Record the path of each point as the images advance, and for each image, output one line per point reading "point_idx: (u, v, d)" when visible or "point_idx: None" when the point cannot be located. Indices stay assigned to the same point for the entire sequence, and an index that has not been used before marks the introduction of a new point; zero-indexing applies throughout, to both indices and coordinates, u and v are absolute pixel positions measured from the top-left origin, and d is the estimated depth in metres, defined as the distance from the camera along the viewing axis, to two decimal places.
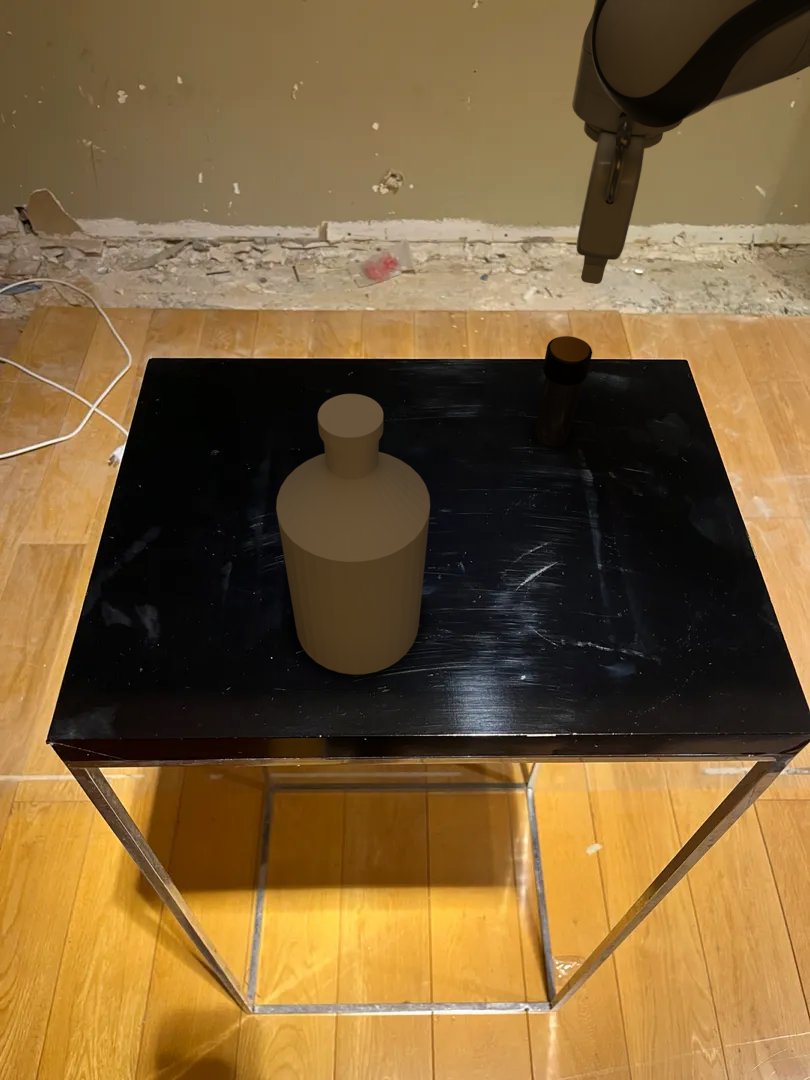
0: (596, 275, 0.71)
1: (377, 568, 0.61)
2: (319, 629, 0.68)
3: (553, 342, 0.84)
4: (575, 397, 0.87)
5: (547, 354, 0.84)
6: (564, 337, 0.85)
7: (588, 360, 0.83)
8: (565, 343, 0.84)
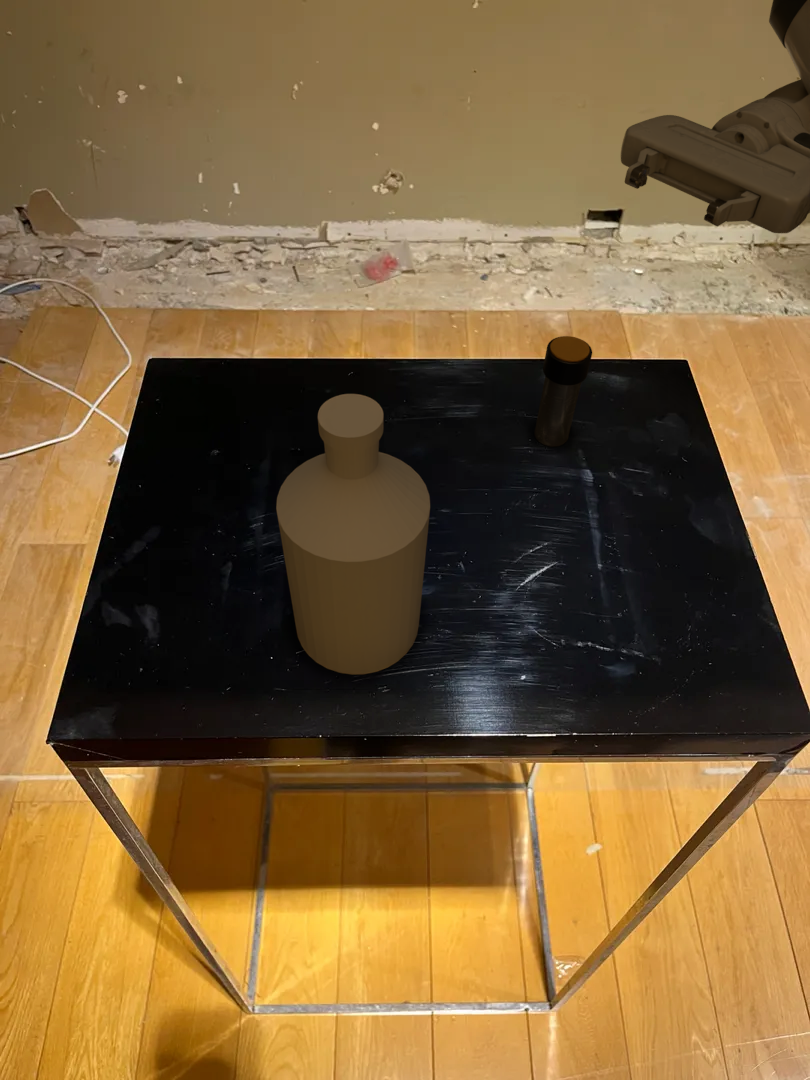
0: None
1: (377, 568, 0.61)
2: (319, 629, 0.68)
3: (553, 342, 0.84)
4: (575, 397, 0.87)
5: (547, 354, 0.84)
6: (564, 337, 0.85)
7: (588, 360, 0.83)
8: (565, 343, 0.84)
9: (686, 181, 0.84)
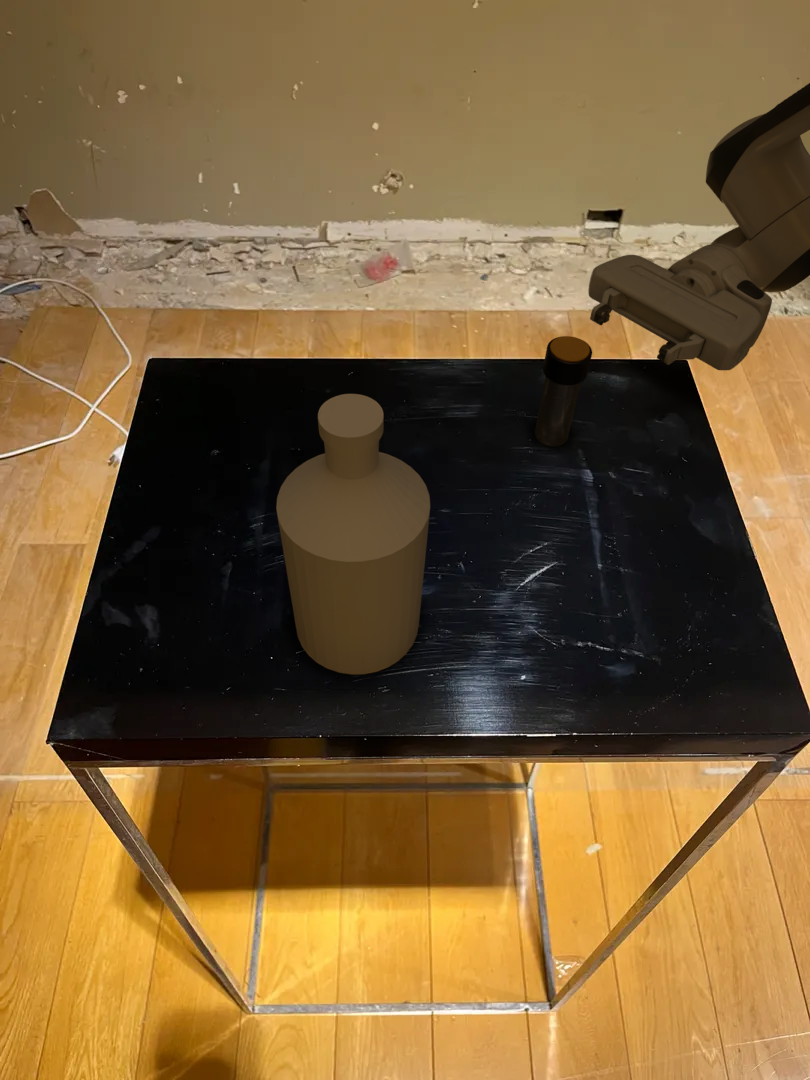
0: None
1: (377, 568, 0.61)
2: (319, 629, 0.68)
3: (553, 342, 0.84)
4: (575, 397, 0.87)
5: (547, 354, 0.84)
6: (564, 337, 0.85)
7: (588, 360, 0.83)
8: (565, 343, 0.84)
9: (644, 318, 0.96)
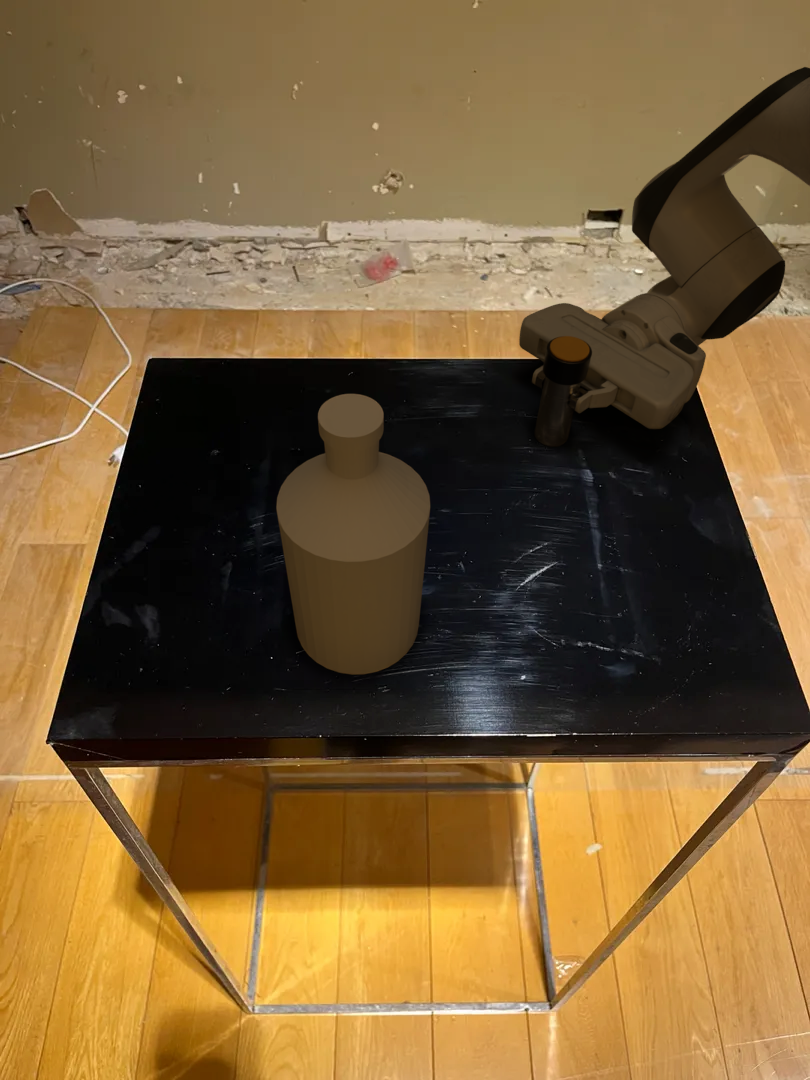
0: None
1: (377, 568, 0.61)
2: (319, 629, 0.68)
3: (553, 342, 0.84)
4: None
5: (546, 354, 0.84)
6: (564, 337, 0.85)
7: (588, 360, 0.83)
8: (565, 343, 0.84)
9: None
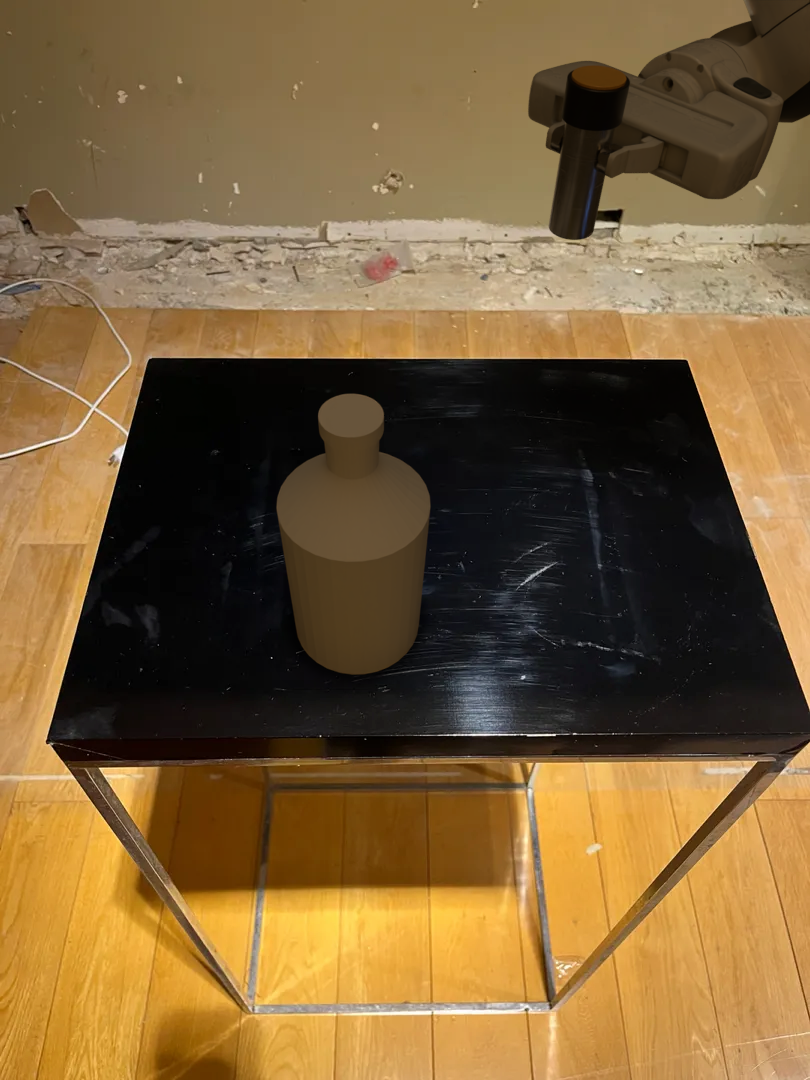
0: None
1: (377, 568, 0.61)
2: (319, 629, 0.68)
3: (576, 70, 0.61)
4: None
5: (567, 85, 0.61)
6: (591, 66, 0.62)
7: (625, 90, 0.60)
8: (592, 71, 0.61)
9: None
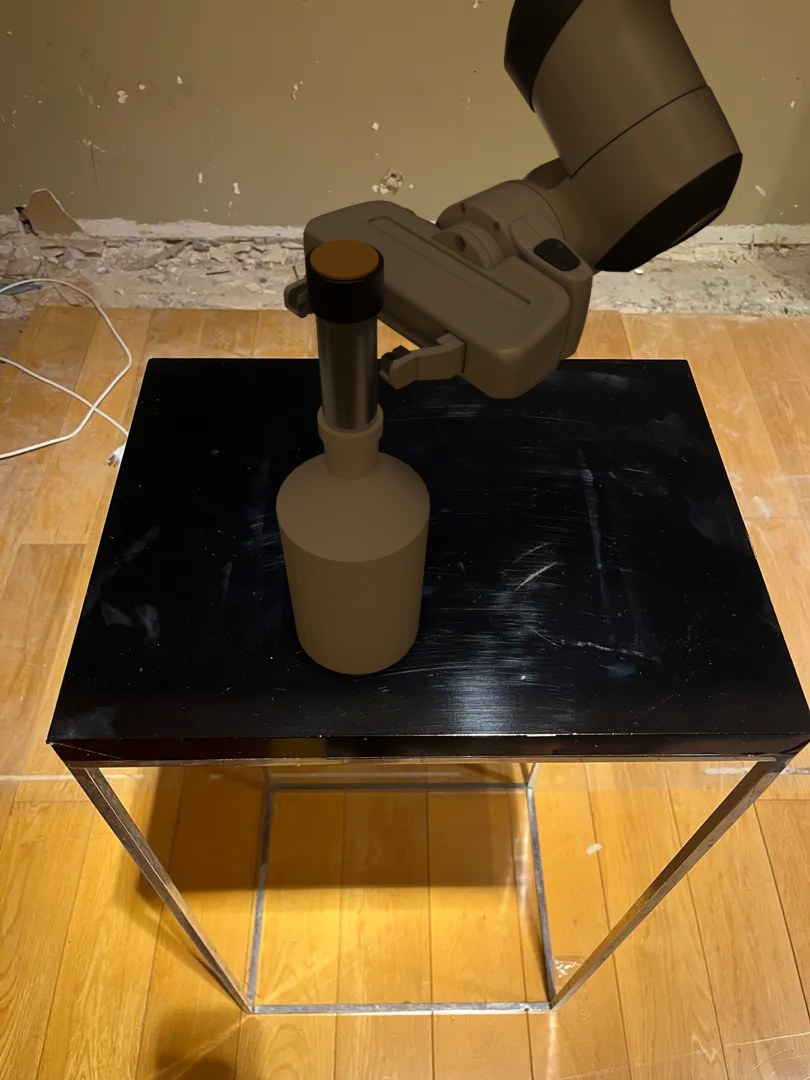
0: None
1: (377, 568, 0.61)
2: (319, 629, 0.68)
3: (318, 248, 0.48)
4: (368, 347, 0.51)
5: (305, 269, 0.48)
6: (340, 241, 0.49)
7: (374, 278, 0.47)
8: (338, 250, 0.48)
9: (384, 305, 0.55)
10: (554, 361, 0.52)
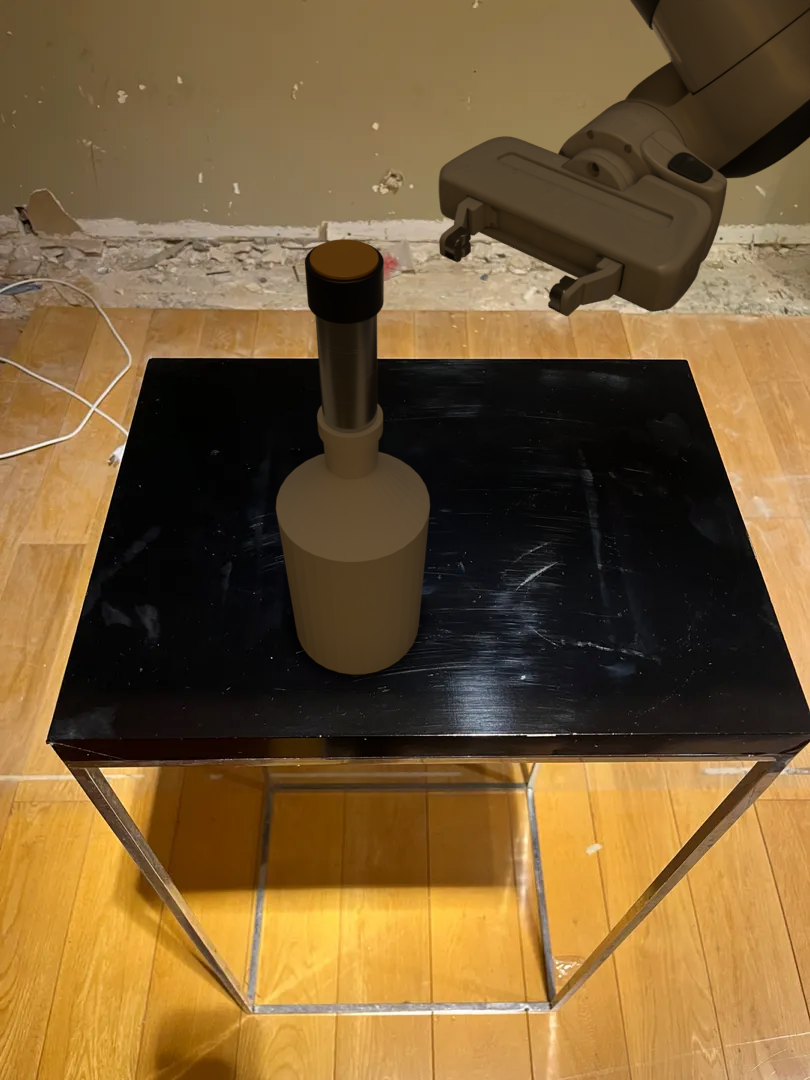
0: None
1: (377, 568, 0.61)
2: (319, 629, 0.68)
3: (317, 248, 0.48)
4: (368, 347, 0.51)
5: (305, 268, 0.48)
6: (339, 241, 0.49)
7: (374, 278, 0.47)
8: (338, 250, 0.48)
9: (527, 239, 0.60)
10: (698, 268, 0.57)
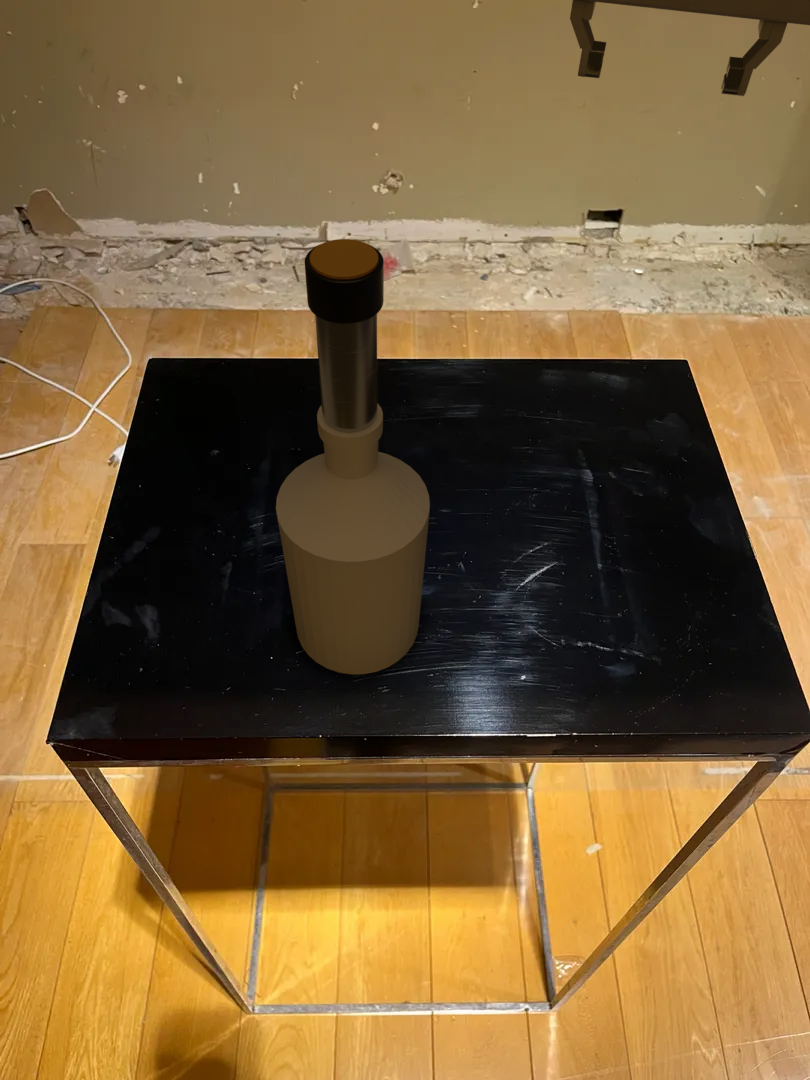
0: None
1: (377, 568, 0.61)
2: (319, 629, 0.68)
3: (317, 248, 0.48)
4: (368, 347, 0.51)
5: None
6: (339, 241, 0.49)
7: (373, 278, 0.47)
8: (338, 250, 0.48)
9: None
10: None
